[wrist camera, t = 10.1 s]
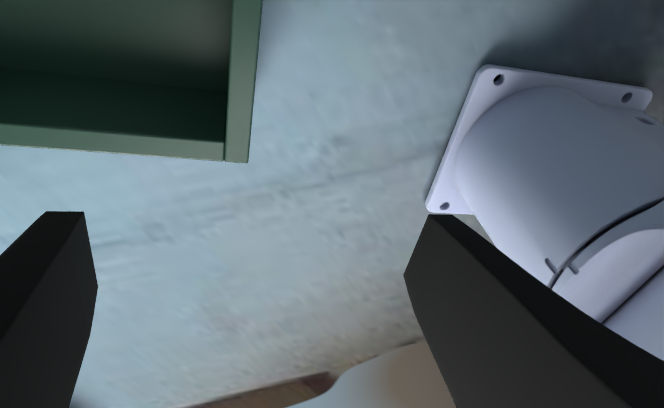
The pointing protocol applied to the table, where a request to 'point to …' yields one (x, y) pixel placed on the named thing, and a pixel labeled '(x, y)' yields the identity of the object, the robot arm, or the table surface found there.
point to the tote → (130, 76)
